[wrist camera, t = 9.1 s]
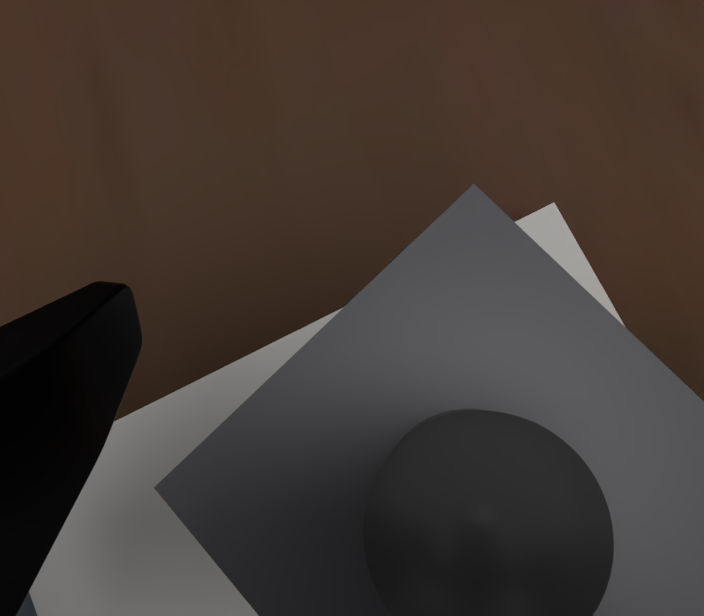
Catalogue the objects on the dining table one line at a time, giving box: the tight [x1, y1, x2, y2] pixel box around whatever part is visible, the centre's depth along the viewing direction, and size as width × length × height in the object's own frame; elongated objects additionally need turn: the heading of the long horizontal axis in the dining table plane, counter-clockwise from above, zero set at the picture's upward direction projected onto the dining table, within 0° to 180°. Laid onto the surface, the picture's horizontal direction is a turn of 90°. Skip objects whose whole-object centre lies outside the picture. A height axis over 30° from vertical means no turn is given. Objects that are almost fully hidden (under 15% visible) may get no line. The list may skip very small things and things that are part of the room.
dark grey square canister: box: [154, 184, 704, 616], centre depth 11 cm, size 5×5×14 cm
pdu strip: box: [29, 203, 624, 616], centre depth 17 cm, size 24×8×4 cm, turn 116°
